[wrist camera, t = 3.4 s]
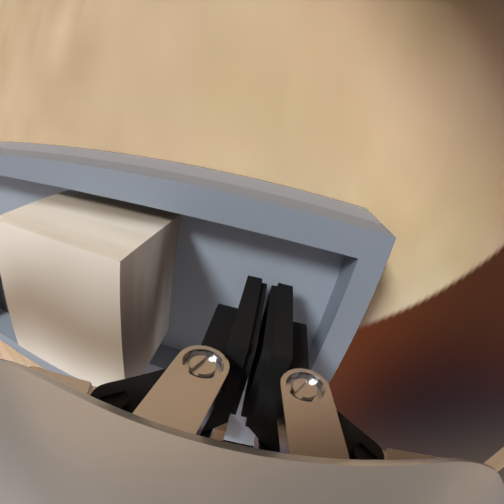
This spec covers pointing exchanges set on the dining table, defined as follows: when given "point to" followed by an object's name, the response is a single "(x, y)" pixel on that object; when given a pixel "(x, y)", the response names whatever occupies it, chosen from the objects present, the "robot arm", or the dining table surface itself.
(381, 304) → the dining table surface
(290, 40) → the dining table surface
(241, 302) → the robot arm
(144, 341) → the cream block
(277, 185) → the tray
